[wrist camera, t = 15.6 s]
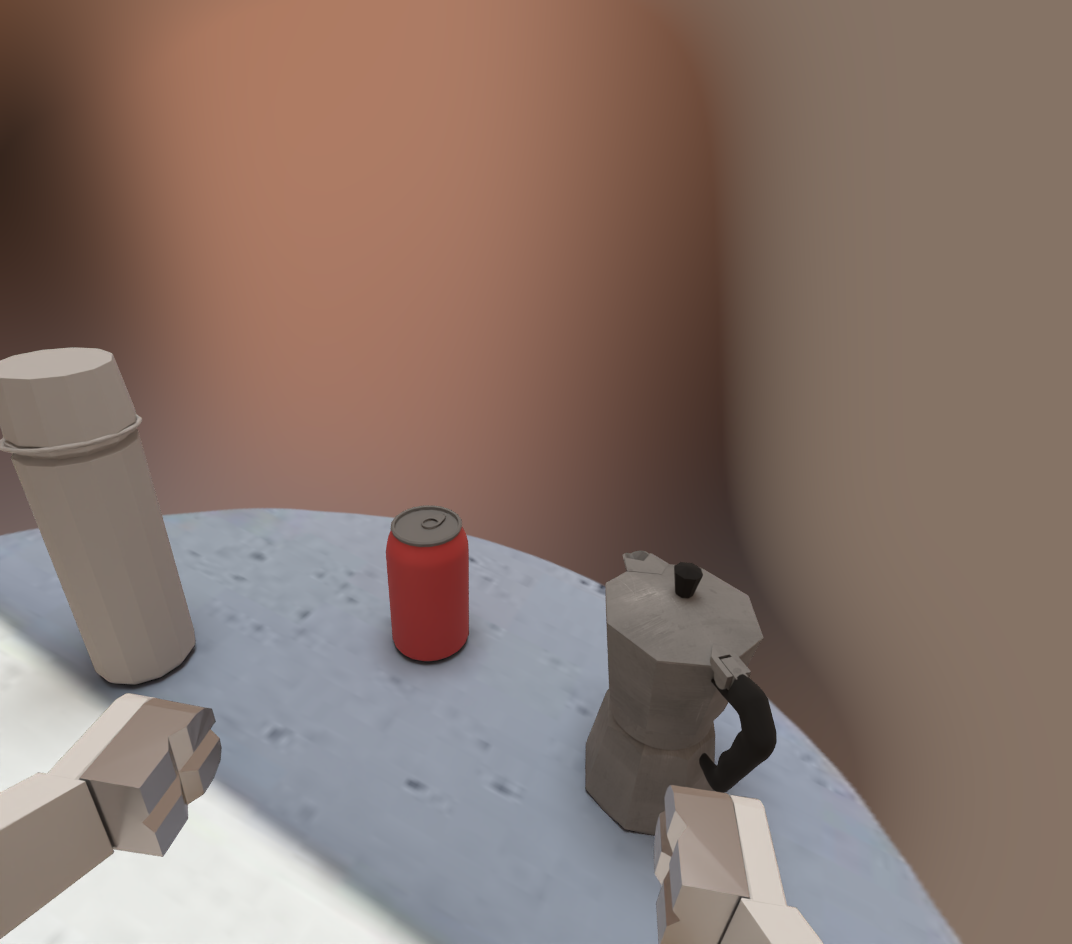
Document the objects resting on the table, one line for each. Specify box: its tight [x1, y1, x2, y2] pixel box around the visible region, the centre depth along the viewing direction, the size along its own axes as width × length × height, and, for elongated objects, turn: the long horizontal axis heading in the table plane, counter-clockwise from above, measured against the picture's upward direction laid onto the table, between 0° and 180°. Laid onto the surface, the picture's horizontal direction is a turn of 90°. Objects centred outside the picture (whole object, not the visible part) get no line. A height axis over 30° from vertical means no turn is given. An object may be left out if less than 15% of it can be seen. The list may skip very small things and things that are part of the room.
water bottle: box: [0, 347, 195, 684], centre depth 45 cm, size 9×8×25 cm
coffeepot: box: [585, 551, 776, 835], centre depth 38 cm, size 15×9×18 cm, turn 18°
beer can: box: [386, 506, 469, 661], centre depth 51 cm, size 7×7×12 cm
